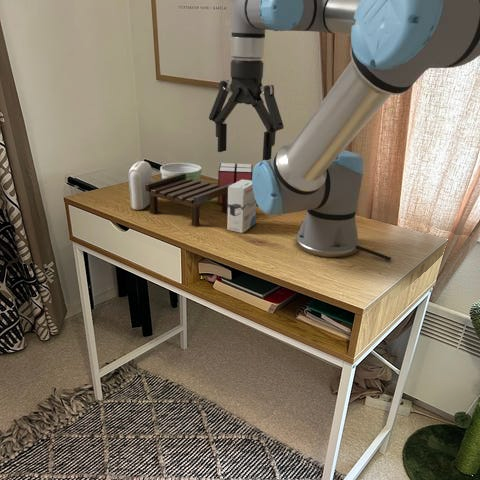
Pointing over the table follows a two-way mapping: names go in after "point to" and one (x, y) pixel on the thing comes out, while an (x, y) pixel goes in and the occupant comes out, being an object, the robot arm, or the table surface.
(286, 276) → the table surface
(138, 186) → the photo printer
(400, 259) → the table surface
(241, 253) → the table surface
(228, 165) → the puzzle cube
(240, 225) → the ink box
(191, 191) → the rack
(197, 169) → the ramekin
